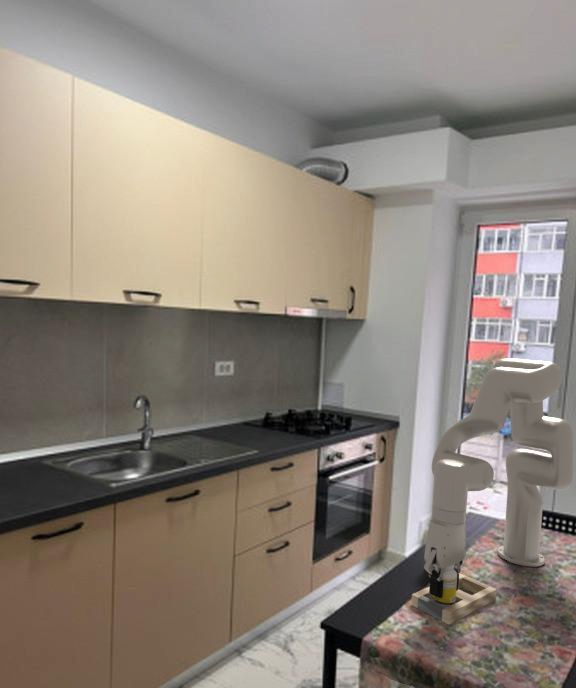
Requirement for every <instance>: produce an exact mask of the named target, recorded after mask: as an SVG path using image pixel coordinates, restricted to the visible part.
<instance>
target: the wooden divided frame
mask: <svg viewBox="0 0 576 688" xmlns="http://www.w3.org/2000/svg"><path fill="white" fill-rule="evenodd" d="M458 574H459V584H458V590H457V591H456V603H455V604H453V605H451V606H449V607H445V606H443V605H441V604H439V603H437V602H435V601H433V600H432V594H430V593H429V588H430V586H428V587H425V588H423V589H421V590H419V591H416V592H414V593H412V594H411V604H410V605H411V606H412V607H414V608H416V609H418V610H420V611H421V612H423V613H426V614H427V615H430V616H431V617H433V618H435V619H437V620H439V621H441V622H442V623H444V624H447V625H448V626H449V625H451V624H453V623H454V622H456V621H459V620H460V619H462V618H464V617H466V616H467V615H470V614H471V613H473V612H475V611H477V610H479V609H481V608H483V607H485V606H487V605H489V604H490V603H492V602H494V601H496V600H497V591H498V589H497V588H495V587H493V586H490V585H488V584H486V583H483V582H481V581H479V580H477V579H475V578H472V577H470V576H467V575H465V574H464V573H463V574H462V573H461V572H460V573H458ZM461 588H462V589H464V590H465V591H463V590H461ZM466 591H468V592H470V593H473V594H469V593H468V592H466Z"/></svg>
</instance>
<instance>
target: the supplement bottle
mask: <svg viewBox="0 0 576 688" xmlns="http://www.w3.org/2000/svg"><path fill="white" fill-rule="evenodd" d="M437 564H438V565H439V563H438V562H437ZM454 567H455V564H453V565H451V566H448V567H446V568H444V573H443V577H442V580H443V581H444V582H443V597H442V598H438V597H436V596H434V595H432V600H433V601H435V602H437V603H439V604H441V605H443V606H445V607H449V606H451V605H453V604H455V603H456V587H457V572H456V571H455V570H454ZM435 570H436V571H437V573H438V572H439V568H437V567H436V568H435Z"/></svg>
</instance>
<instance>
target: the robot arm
mask: <svg viewBox="0 0 576 688" xmlns="http://www.w3.org/2000/svg"><path fill="white" fill-rule="evenodd" d="M562 379H563V373H562V370H561V368H560V366H559V365H558V364H557V363H555V362H552V361H544V360H534V359H524V358H513V357H512V358H509V357H507V358H500V359H497V360H496V361H495V362H494V364H493V367H492V368H490V369H489V370H487V371H486V373H485V374H484V377H483V380H482V382H481V384H480V387H479V390H478V392H477V394H476V398H475V399H474V402H473V405H472V408H471V410H470V413H469V414H467V416H465V417H464V418H462V419H460V420H458V421H457V422H456V423H454V424H453V425H452V426H450V428H449V429H447V430H446V431H445V432H444V433H443V435H441V438H440V440H439V442H438V444H437V447H436V450H435V452H434V454H433V457H432V461H431V472H432V475H433V479H434V480H433V492H432V508H431V519H430V521H429V524H428V530H427V533H426V539H425V547H424V559H423V560H424V562H425V563H424V566H423V568H424V570H425V571H426V572H427V574H428V577H429V587H430V588H429V593H430V594H432V595H434V596H436V597H438V598H442V597H443V582H444V581H443V580H442V577H443V573H444V568H446V567H448V566H451V565H453V564H455V567H454V570H455V571H456V572H457V587H456V591H457V590H458V584H459V574H460V573H461V571H462V569H461V567H462V565H463V561H464V559H465V557H466V556H467V553H466V546H467V545H466V544H467V543H466V542H467V541H466V540H467V535H466V533H467V532H466V531H467V529H466V523H467V521H466V519H467V509H468V508H467V506H468V496H469V495H468V492H480V491H484V490H486V489H488V488H490V486H491V484H492V482H493V481H494V477H495V474H494V473H495V472H494V471H495V470H494V468H493V466H492V465H491V463H489V462H488V461H487V460H485V459H482V458H480V457H474V456H471V455H467V454H462V453H457V452H456V451H457V450H458V449H459V447H460V446H461V445H463V444H464V443H465V442H467V441H469V440H472V439H475V438H479V437H482V436H483V437H484V436H487V435H492V434H495V433H498V432H500V431H502V430H503V429H504V427H505V425H506V421H507V419H508V416H509V413H510V434H511V439H512V441H513V443H515V444H516V445H518V446H521V447H525V448H514V449H512V450H510V451H509V452H508V454H507V455H506V458H505V470H506V479H507V488H506V489H507V490H506V491H507V493H506V494H507V495H506V506H505V507H506V508H505V509H506V510H505V521H504V523H505V524H504V536H503V545H501V546H498V548H497V555H498V557H500V558H502V559H503V560H504V559H505V560H504V561H506V560H507V561H506V562H509V563H510V564H511V563H512V564H515V565H518V566H522V567H533V568H534V567H541V566H543V565H544V564H545V563H546V559H545V558H546V557H545V556H544V555H543V554H542V553H540V548H541V547H543V546H544V541H543V540H542V539H541V534H542V533H541V531H542V520H543V519H542V518H543V508H544V507H543V504H544V502H543V501H544V500H543V497H542V494H541V492H540V490H539V488H538V487H540V488H541V487H542V488H546V489H550V490H555V491H562V492H563V491H566V490H568V489H569V488H570V487H571V486H572V483H573V479H574V433H573V428H572V426H571V424H570V422H569V421H567V420H565V419H563V418H560V417H559V418H558V417H552V416H546V415H545V414H544V401H545V400H546V399H548V398H549V397H551V396H552V395H554V394H555V393H556V392H557V391H558V390H559V388H560V386H561V384H562ZM537 450H540V451H537ZM543 451H545V452H543ZM546 452H548V453H546ZM436 561H437V562H438V563H439V565H438V564H436ZM436 567H437V568H439V572H438V573H437V571H436V570H435V568H436Z"/></svg>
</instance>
